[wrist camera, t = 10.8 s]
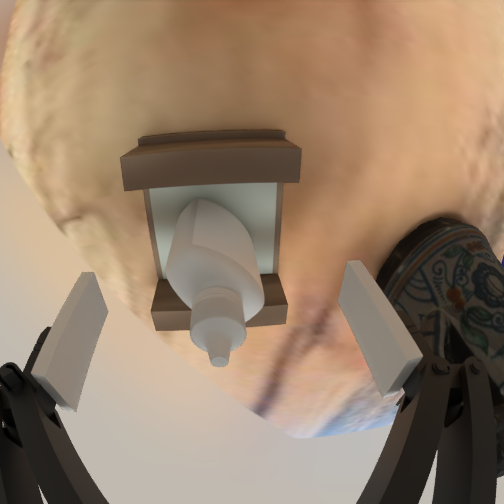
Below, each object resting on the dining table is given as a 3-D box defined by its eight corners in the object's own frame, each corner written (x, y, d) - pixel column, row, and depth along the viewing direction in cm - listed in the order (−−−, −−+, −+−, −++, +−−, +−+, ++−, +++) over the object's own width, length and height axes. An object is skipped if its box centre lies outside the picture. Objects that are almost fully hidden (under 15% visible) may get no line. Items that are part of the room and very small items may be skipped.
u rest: (141, 137, 18) (119, 148, 13) (282, 130, 19) (301, 140, 14) (165, 295, 25) (157, 335, 20) (273, 289, 26) (285, 328, 21)
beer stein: (460, 302, 32) (547, 430, 11) (344, 354, 33) (411, 531, 11) (480, 198, 23) (630, 337, 2) (336, 245, 24) (488, 530, 3)
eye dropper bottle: (231, 183, 19) (251, 295, 9) (255, 249, 22) (288, 382, 12) (173, 204, 19) (133, 328, 9) (202, 266, 22) (199, 402, 12)
